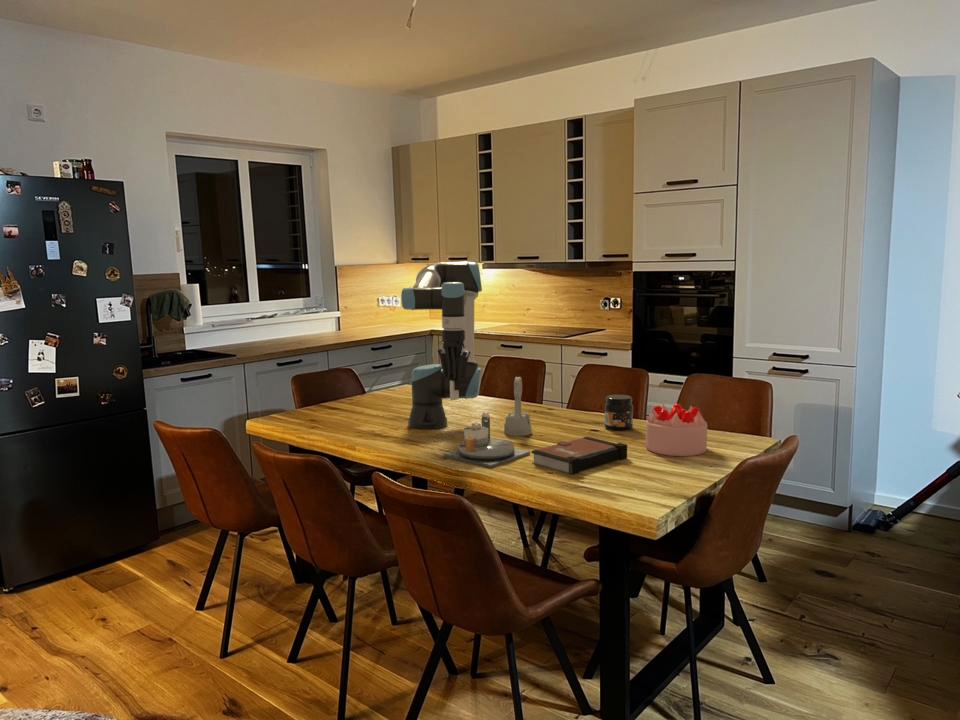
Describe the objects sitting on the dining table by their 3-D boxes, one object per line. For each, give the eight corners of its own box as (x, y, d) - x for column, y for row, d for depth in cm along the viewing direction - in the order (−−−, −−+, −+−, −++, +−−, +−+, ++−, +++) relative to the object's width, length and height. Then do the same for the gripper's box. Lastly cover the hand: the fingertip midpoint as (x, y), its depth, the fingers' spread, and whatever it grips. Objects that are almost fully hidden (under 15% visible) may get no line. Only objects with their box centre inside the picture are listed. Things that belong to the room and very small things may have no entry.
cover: (459, 444, 239) (458, 424, 238) (475, 439, 245) (474, 420, 244) (477, 448, 234) (477, 428, 233) (493, 443, 240) (493, 423, 239)
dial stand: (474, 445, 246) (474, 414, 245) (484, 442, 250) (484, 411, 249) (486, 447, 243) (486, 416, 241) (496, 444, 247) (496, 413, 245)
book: (585, 449, 245) (585, 434, 245) (626, 459, 232) (627, 444, 232) (530, 464, 228) (530, 448, 228) (572, 476, 215) (572, 460, 214)
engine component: (502, 435, 264) (529, 436, 262) (501, 379, 262) (529, 380, 260) (507, 428, 275) (533, 429, 273) (506, 374, 272) (533, 375, 270)
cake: (633, 447, 245) (634, 406, 243) (672, 438, 257) (673, 399, 255) (680, 460, 229) (681, 416, 227) (719, 450, 241) (721, 408, 239)
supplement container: (600, 429, 271) (600, 398, 269) (609, 424, 280) (609, 393, 278) (628, 432, 266) (628, 400, 264) (636, 426, 275) (636, 395, 273)
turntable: (483, 442, 249) (483, 424, 248) (525, 450, 238) (525, 432, 237) (447, 452, 236) (447, 434, 235) (490, 462, 224) (490, 443, 223)
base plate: (443, 456, 236) (443, 454, 236) (483, 444, 251) (483, 441, 251) (490, 468, 223) (490, 464, 223) (529, 454, 238) (529, 451, 238)
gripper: (431, 329, 242) (432, 398, 245) (460, 331, 233) (461, 403, 236) (446, 327, 247) (448, 395, 250) (475, 329, 239) (476, 400, 242)
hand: (454, 399), depth 243 cm, fingers closed
